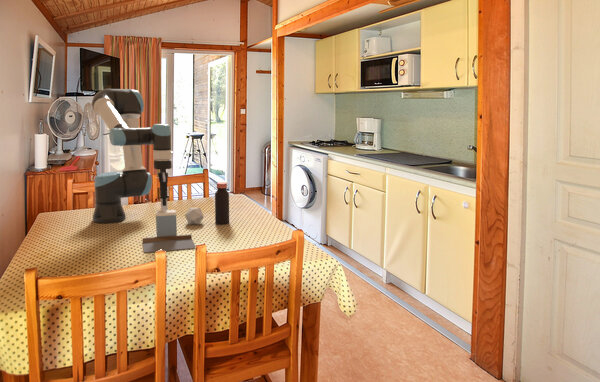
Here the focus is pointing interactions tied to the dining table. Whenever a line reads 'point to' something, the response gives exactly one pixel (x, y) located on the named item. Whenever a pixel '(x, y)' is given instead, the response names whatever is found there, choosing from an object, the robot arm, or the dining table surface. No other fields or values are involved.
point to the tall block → (166, 223)
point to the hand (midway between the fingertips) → (164, 212)
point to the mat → (168, 245)
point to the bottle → (222, 204)
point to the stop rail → (167, 238)
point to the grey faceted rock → (194, 216)
